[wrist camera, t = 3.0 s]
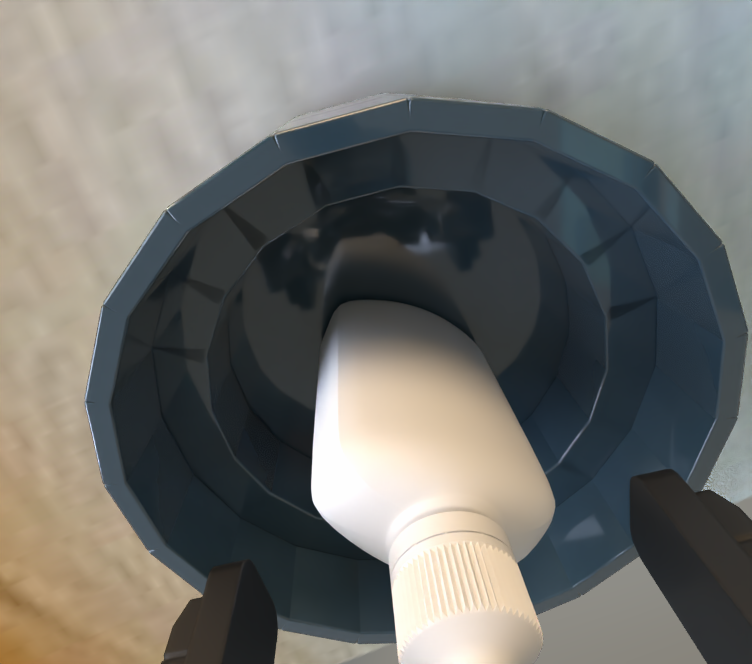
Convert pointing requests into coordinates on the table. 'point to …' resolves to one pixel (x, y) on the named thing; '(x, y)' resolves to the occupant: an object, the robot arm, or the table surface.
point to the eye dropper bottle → (430, 481)
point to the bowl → (426, 291)
